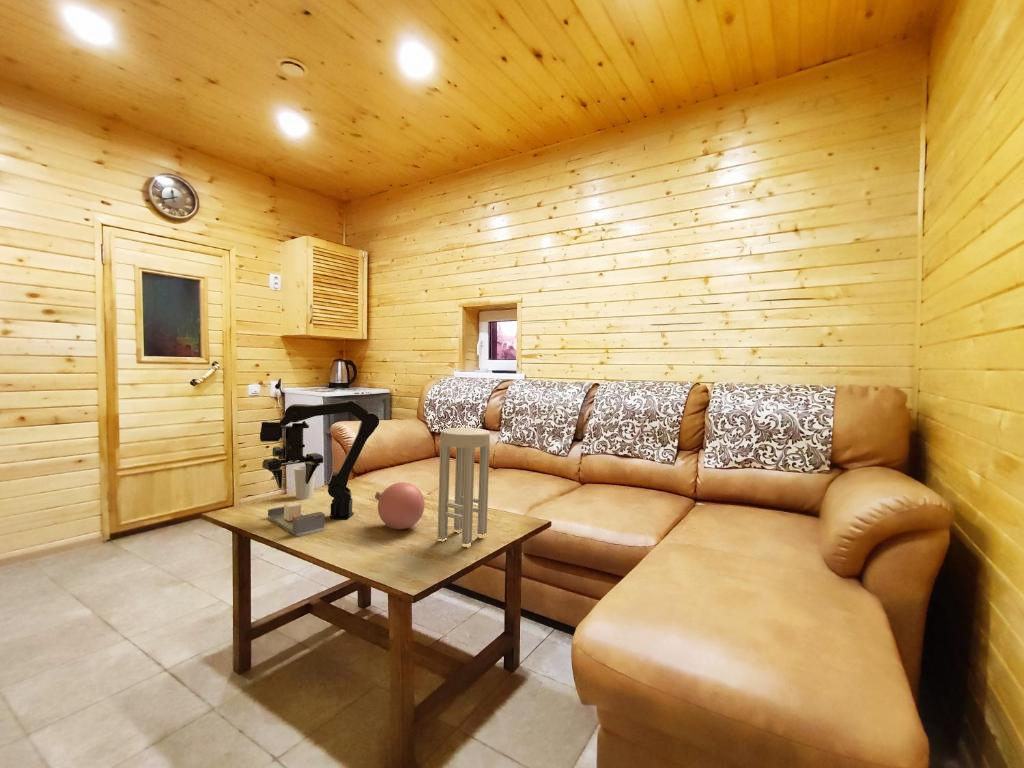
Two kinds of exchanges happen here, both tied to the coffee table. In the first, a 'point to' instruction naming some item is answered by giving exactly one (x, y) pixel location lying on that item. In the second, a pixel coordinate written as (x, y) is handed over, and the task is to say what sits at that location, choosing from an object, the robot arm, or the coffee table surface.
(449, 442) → the stool
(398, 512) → the balloon
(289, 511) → the cream rectangular block
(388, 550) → the coffee table surface
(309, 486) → the cup
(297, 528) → the gray display stand
